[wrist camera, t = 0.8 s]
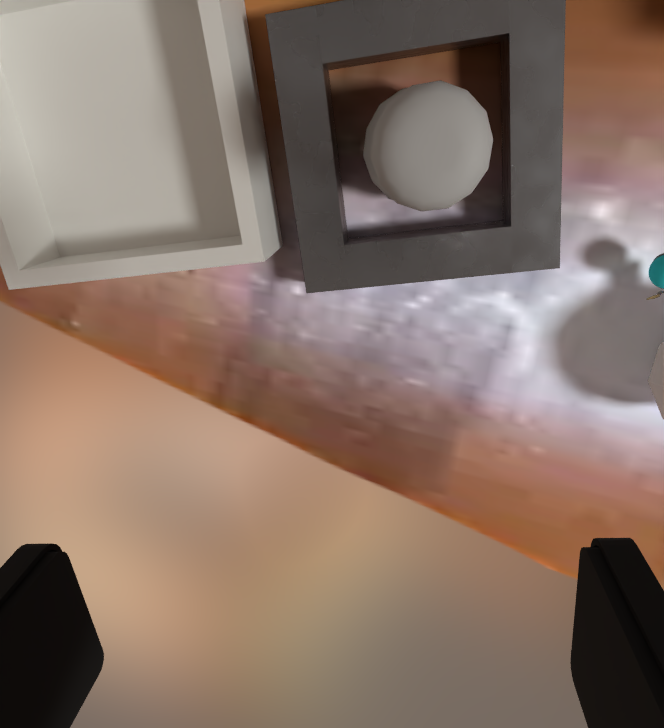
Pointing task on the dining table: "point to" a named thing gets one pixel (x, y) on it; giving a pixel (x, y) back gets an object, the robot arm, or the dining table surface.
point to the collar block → (518, 118)
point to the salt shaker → (428, 145)
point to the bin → (130, 140)
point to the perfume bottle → (660, 377)
